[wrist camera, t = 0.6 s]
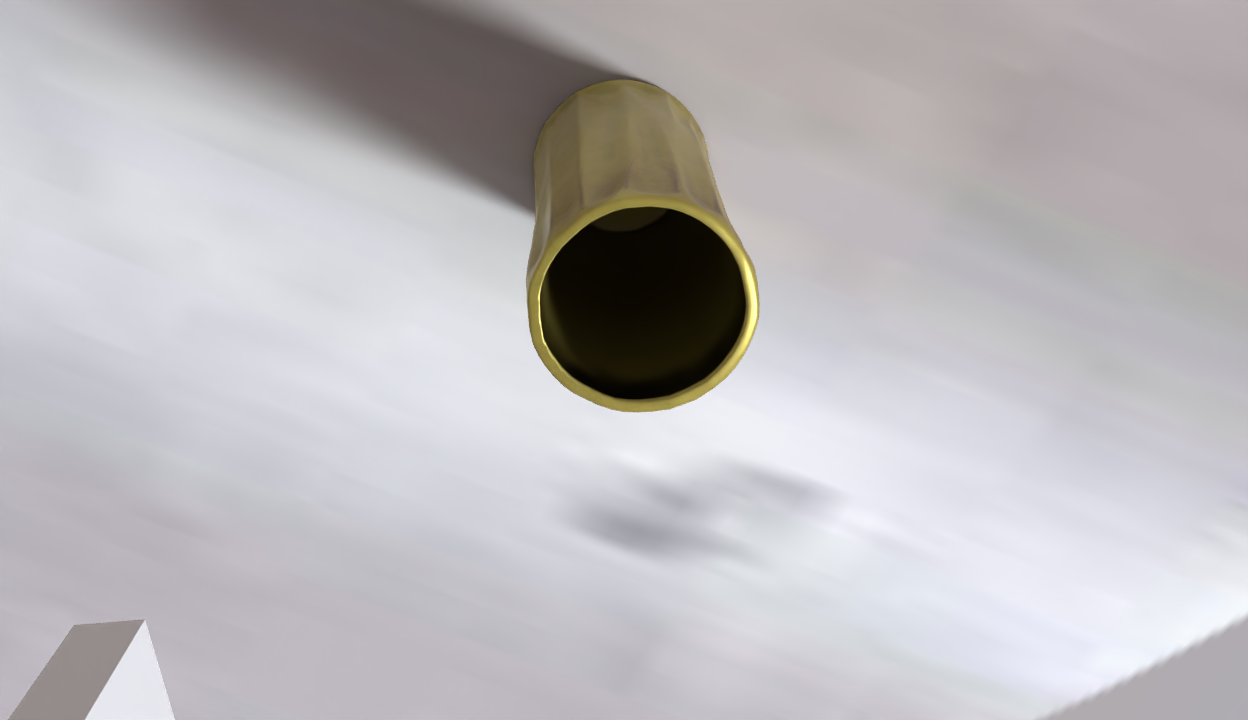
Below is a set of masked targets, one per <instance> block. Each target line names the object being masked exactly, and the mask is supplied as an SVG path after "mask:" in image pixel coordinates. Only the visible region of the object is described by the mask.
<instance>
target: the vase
mask: <svg viewBox="0 0 1248 720" xmlns="http://www.w3.org/2000/svg"><path fill="white" fill-rule="evenodd" d="M533 172H534V180H535V206H536V207H535V227H534V233H533V240H532V246H531V251H530V255H529V261H528V268H527V275H526V288H527V308H528V318H529V328H530V333H531V337H532V342H533V345H534V347H535V349H536V351H537V353H538V355H539V357H540V359H541V360H542V362H543V363H544V365H545V366H546V367H547V369H548V370H549V371H550V372H551V374H552V375H553V376H554V377H555V378H556V379H557V380H558V381H559V382H560V383H561V384H562V385H563V386H564V387H566V388H567V389H569V390H570V391H571V392H573V393H575V394H577V395H579V396H581V397H583V398H585V399H587V400H589V401H591V402H593V403H595V404H597V405H600V406H603V407H606V408H609V409H612V410H617V411H622V412H651V411H659V410H667V409H672V408H675V407H677V406H680V405H683V404H686V403H688V402H691V401H694V400H696V399H698V398H699V397H701V396H702V395H704V394H705V393H707V392H708V391H710V390H712V389H713V388H714V387H716V386H717V385H718V384H719V383H720V382H722V381H723V380H724V379H725V378H726V377H727V376H728V375H729V374H730V373H731V372H732V371H733V370H734V369H735V367H736V366H737V365H738V363H739V362H740V360H741V359H742V358H743V356H744V354H745V352H746V350H747V348H748V347H749V344H750V342H751V340H752V338H753V335H754V332H755V329H756V326H757V323H758V318H759V293H758V283H757V277H756V272H755V268H754V265H753V263H752V261H751V259H750V257H749V255H748V254H747V252H746V251H745V249H744V247H743V245H742V242H741V240H740V238H739V237H738V235H737V233H736V232H735V230H734V228H733V226H732V225H731V223H730V221H729V218H728V216H727V214H726V211H725V208H724V205H723V202H722V199H721V197H720V194H719V191H718V189H717V186H716V182H715V178H714V175H713V171H712V168H711V166H710V163H709V160H708V151H707V146H706V142H705V139H704V135H703V133H702V131H701V129H700V127H699V125H698V124H697V122H696V120H695V119H694V117H693V116H692V114H691V113H690V112H689V111H688V109H687V108H686V107H685V106H684V105H683V104H682V103H681V102H680V101H679V100H677V99H676V98H675V97H674V96H672V95H671V94H669V93H668V92H666V91H664V90H662V89H660V88H658V87H655V86H653V85H650V84H647V83H643V82H639V81H634V80H611V81H605V82H600V83H597V84H594V85H591V86H588V87H586V88H583V89H581V90H579V91H577V92H576V93H574V94H572V95H571V96H570V97H569V98H568V99H566V100H565V101H564V102H563V103H562V104H561V105H560V106H559V107H558V108H557V109H556V110H555V111H554V113H553V114H552V115H551V116H550V117H549V118H548V120H547V122H546V123H545V125H544V127H543V129H542V131H541V133H540V135H539V138H538V141H537V145H536V148H535V153H534V158H533Z"/></svg>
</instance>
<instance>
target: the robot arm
mask: <svg viewBox="0 0 1248 720" xmlns="http://www.w3.org/2000/svg"><path fill="white" fill-rule="evenodd" d="M8 720H175V719H174V715H173V712H172V709H171V705H170V702H169V698H168V695H167V692H166V688H165V685H164V682H163V678H162V675H161V672H160V668H159V665H158V662H157V658H156V655H155V652H154V648H153V645H152V642H151V638H150V635H149V632H148V628H147V625H146V621H145V620H133V621H121V622H108V623H96V624H83V625H74V626H73V627H72V629H71V630H70V632H69V633H68V635H67V636H66V638H65V639H64V640H63V642H62V643H61V645H60V646H59V648H58V649H57V650H56V652H55V653H54V655H53V656H52V658H51V659H50V661H49V662H48V663H47V665H46V666H45V668H44V669H43V671H42V672H41V673H40V675H39V676H38V678H37V679H36V681H35V682H34V684H33V685H32V686H31V688H30V689H29V691H28V692H27V694H26V695H25V696H24V698H23V699H22V701H21V702H20V704H19V705H18V706H17V708H16V709H15V711H14V712H13V714H12V715H11V717H10V718H9V719H8Z"/></svg>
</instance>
